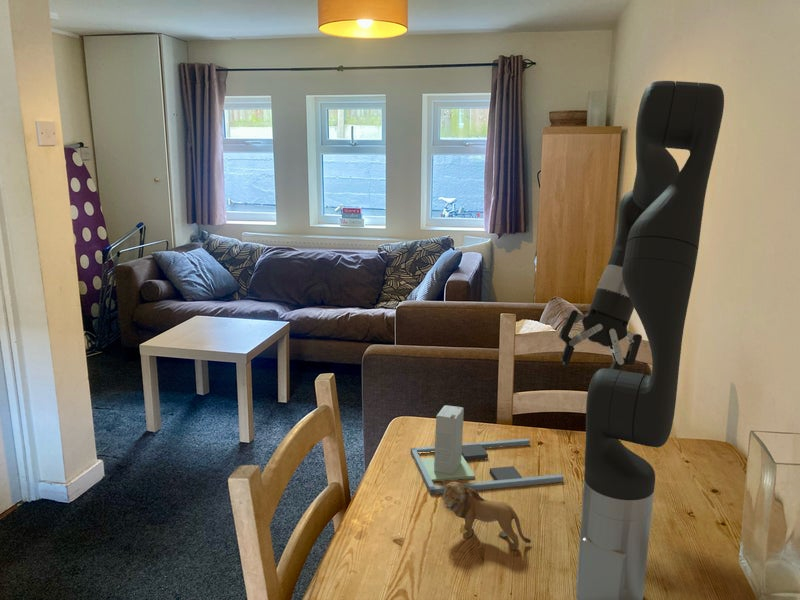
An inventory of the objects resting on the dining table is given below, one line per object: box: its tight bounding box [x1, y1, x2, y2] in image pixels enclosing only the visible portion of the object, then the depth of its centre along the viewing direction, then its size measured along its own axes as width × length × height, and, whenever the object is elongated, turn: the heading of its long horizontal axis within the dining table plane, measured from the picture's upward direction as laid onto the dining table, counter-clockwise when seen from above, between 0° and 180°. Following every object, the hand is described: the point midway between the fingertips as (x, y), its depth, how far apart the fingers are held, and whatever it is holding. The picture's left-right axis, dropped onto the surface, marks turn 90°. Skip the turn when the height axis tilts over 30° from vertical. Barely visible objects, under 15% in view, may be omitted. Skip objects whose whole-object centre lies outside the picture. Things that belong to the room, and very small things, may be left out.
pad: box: [421, 456, 476, 483], centre depth 128 cm, size 9×9×1 cm
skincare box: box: [433, 404, 465, 474], centre depth 126 cm, size 6×4×12 cm
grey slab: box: [462, 444, 489, 461], centre depth 134 cm, size 5×5×1 cm
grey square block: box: [489, 465, 523, 481], centre depth 124 cm, size 5×5×1 cm
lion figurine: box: [442, 480, 532, 551], centre depth 104 cm, size 15×5×9 cm, turn 74°
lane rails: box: [410, 438, 564, 495], centre depth 129 cm, size 27×18×1 cm
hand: (586, 373), depth 119 cm, fingers open, 8 cm apart
